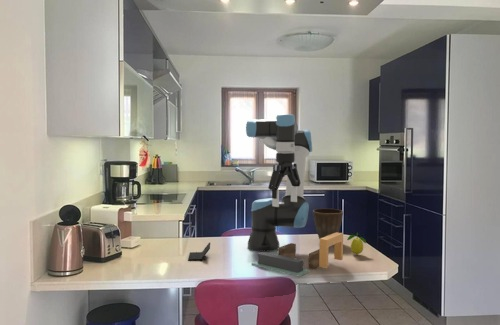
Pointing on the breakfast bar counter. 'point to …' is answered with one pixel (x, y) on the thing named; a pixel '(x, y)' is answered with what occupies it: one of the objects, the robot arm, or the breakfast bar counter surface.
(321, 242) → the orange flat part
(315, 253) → the cradle
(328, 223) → the plant pot
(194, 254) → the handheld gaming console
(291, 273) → the mat
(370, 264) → the breakfast bar counter surface
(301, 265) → the grey rectangular bar
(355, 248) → the lemon
